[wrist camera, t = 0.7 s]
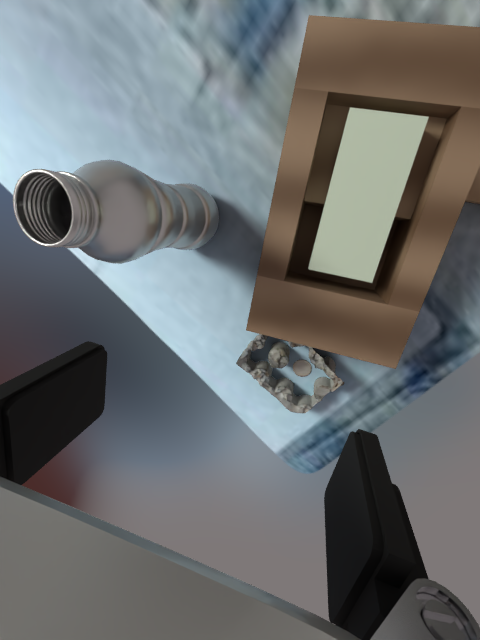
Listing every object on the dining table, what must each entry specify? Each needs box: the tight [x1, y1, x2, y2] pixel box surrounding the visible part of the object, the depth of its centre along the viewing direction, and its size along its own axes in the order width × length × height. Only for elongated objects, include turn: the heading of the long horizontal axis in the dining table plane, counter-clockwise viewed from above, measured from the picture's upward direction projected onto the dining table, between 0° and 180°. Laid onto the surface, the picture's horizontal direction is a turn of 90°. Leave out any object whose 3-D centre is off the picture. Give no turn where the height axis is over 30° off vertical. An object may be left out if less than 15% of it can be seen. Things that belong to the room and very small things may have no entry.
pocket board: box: [246, 15, 480, 369], centre depth 26 cm, size 24×14×6 cm, turn 170°
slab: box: [308, 107, 429, 283], centre depth 24 cm, size 12×5×2 cm, turn 170°
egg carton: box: [236, 334, 344, 413], centre depth 34 cm, size 11×8×4 cm
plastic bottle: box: [13, 160, 219, 263], centre depth 24 cm, size 6×7×20 cm
